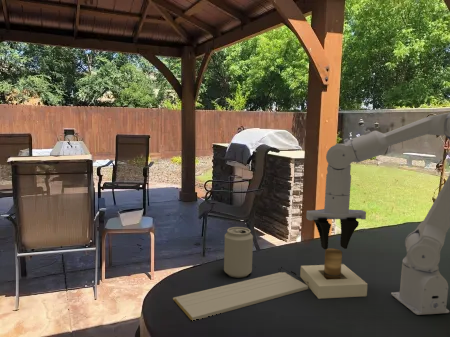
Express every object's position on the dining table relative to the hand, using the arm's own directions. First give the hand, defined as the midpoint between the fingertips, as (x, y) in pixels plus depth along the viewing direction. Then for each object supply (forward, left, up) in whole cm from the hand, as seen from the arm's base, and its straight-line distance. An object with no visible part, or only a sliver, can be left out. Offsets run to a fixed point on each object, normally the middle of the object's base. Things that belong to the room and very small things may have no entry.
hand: (334, 247), depth 89 cm
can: (+10, +22, -10) cm, 26 cm away
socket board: (0, 0, -10) cm, 10 cm away
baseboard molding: (-1, +23, -11) cm, 26 cm away
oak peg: (0, 0, -10) cm, 10 cm away
